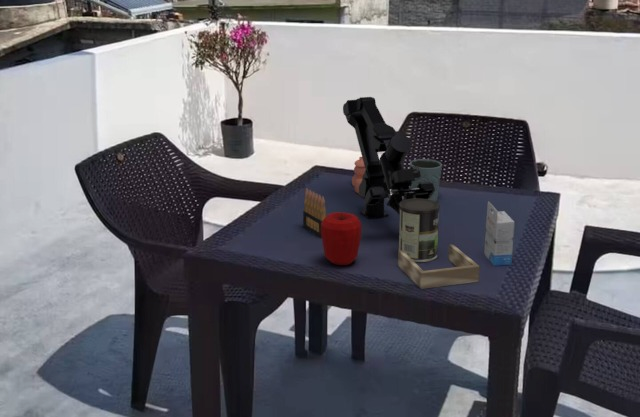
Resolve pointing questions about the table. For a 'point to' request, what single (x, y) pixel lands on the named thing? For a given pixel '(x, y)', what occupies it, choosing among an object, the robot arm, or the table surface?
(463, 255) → the corral
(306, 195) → the ammunition clip
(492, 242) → the ink box
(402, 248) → the coffee can
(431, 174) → the green cup
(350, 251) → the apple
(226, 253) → the table surface
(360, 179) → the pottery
